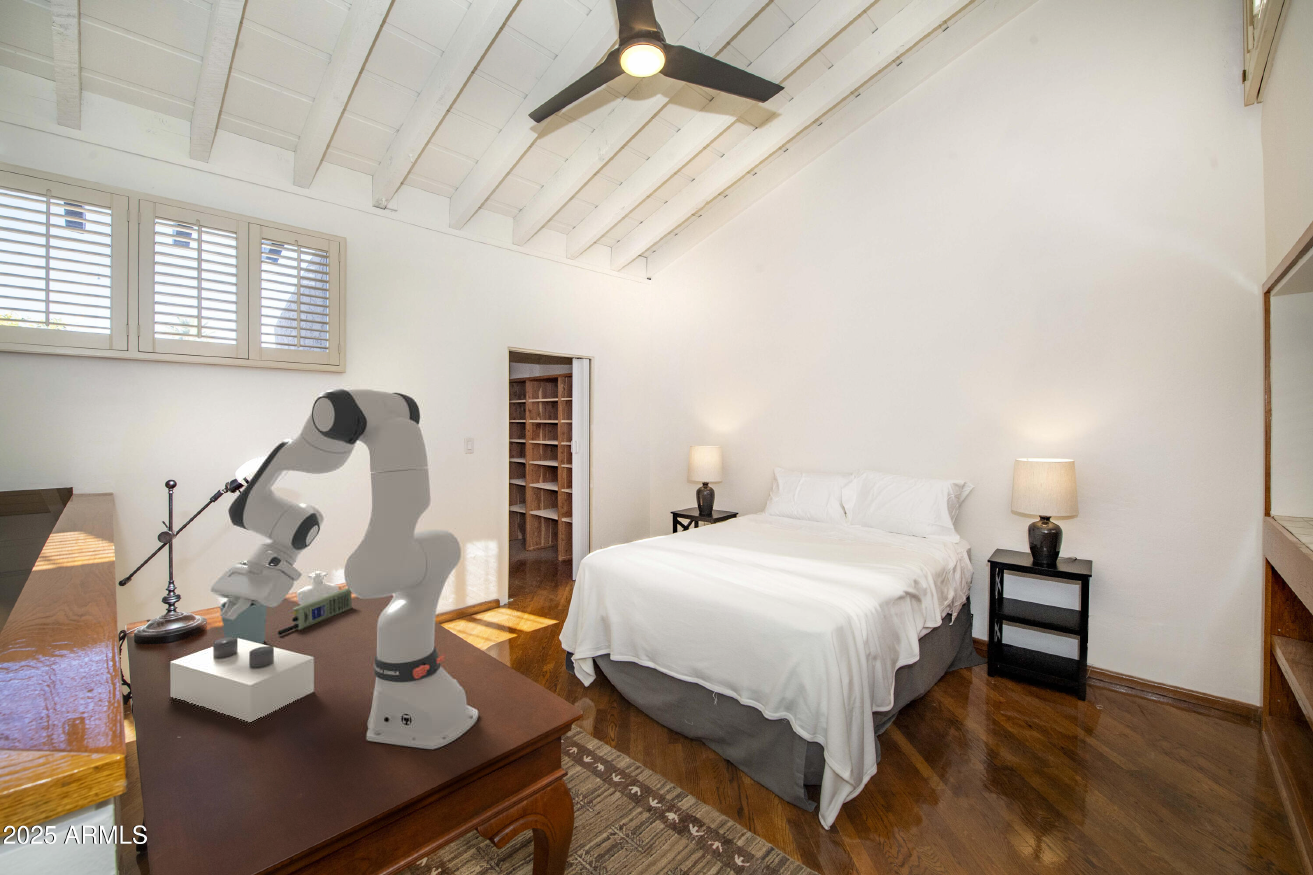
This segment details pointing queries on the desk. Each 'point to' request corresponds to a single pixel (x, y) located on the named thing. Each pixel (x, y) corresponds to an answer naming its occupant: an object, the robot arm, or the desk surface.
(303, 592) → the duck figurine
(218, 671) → the control block
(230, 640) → the knob
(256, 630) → the teal plant pot
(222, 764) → the desk surface
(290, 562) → the robot arm
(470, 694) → the desk surface
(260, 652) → the knob
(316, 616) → the handheld radio
